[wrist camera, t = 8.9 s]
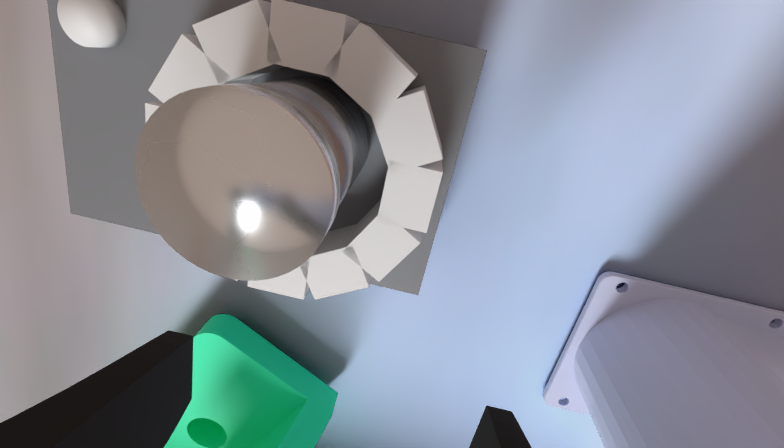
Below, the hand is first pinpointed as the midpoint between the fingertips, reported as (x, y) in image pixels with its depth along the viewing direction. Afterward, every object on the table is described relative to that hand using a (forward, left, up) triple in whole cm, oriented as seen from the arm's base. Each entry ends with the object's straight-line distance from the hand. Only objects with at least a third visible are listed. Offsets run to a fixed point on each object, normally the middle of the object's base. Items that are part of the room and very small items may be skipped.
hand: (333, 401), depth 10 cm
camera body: (+5, -4, -10) cm, 12 cm away
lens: (+3, -5, -6) cm, 8 cm away
